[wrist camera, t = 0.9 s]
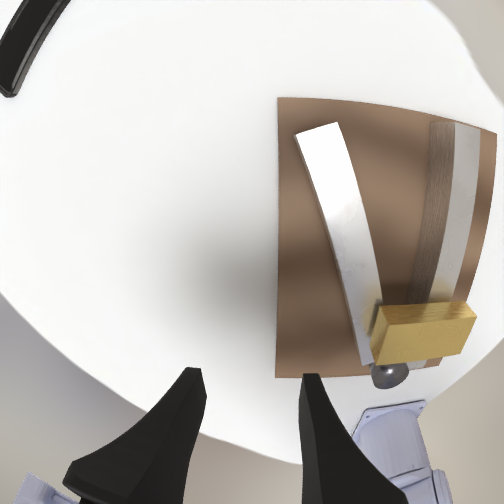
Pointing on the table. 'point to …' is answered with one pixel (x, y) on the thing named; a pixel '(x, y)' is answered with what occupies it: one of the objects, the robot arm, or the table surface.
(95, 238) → the table surface
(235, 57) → the table surface
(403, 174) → the walnut board
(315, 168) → the bar
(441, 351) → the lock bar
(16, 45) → the phone
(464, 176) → the fixed tong arm
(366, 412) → the robot arm
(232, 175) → the table surface
